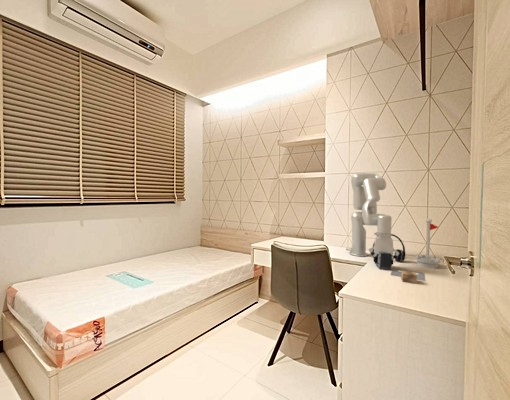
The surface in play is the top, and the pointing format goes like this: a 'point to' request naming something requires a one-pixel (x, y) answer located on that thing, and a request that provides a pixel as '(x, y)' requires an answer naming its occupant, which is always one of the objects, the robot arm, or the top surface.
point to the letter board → (398, 271)
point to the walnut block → (409, 277)
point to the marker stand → (426, 259)
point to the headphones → (401, 253)
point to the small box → (383, 261)
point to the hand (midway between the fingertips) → (383, 264)
